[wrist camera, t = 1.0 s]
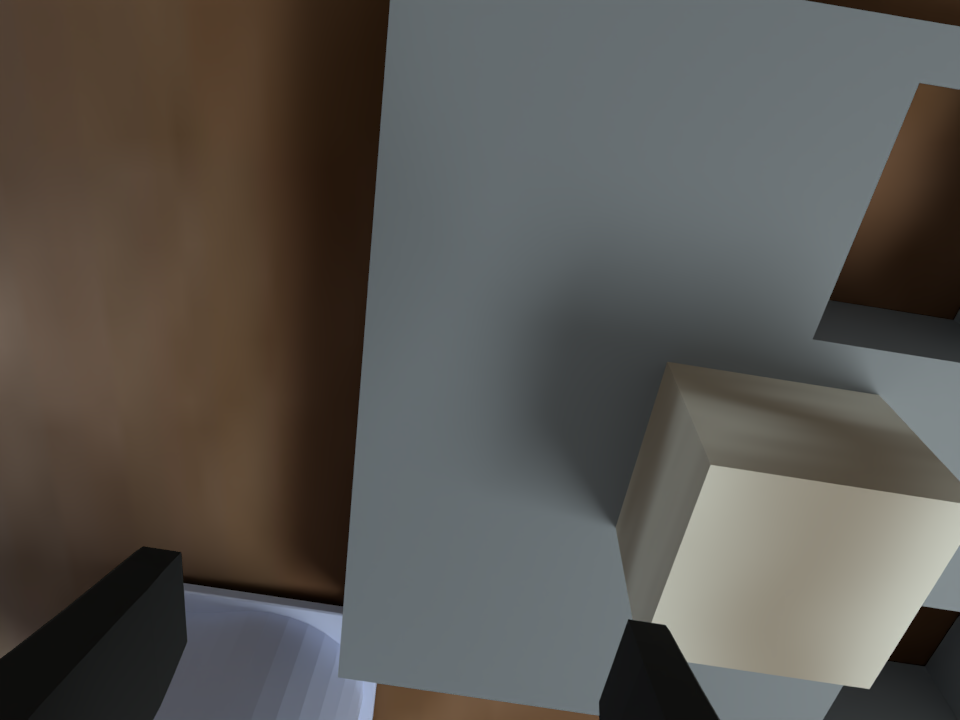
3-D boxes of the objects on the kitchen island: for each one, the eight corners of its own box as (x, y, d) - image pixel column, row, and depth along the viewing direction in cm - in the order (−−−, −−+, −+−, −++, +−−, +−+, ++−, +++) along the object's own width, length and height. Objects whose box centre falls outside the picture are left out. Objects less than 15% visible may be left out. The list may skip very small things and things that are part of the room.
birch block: (615, 527, 18) (639, 655, 14) (667, 361, 16) (710, 465, 12) (800, 555, 18) (869, 689, 15) (879, 394, 16) (983, 507, 12)
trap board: (357, 603, 24) (337, 677, 21) (417, -55, 15) (395, -69, 12) (1128, 716, 25) (1203, 803, 22) (1646, 153, 15) (1884, 183, 13)
